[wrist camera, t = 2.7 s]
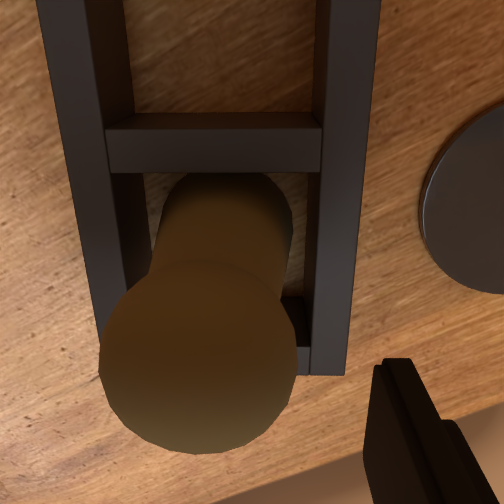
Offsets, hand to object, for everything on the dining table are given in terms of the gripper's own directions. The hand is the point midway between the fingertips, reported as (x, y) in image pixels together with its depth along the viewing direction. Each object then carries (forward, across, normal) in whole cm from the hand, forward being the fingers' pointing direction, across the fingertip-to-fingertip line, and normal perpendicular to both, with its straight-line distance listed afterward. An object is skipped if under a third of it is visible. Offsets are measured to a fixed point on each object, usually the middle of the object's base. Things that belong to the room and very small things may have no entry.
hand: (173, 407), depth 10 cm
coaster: (+11, -14, -1) cm, 17 cm away
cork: (+11, -1, 0) cm, 11 cm away
